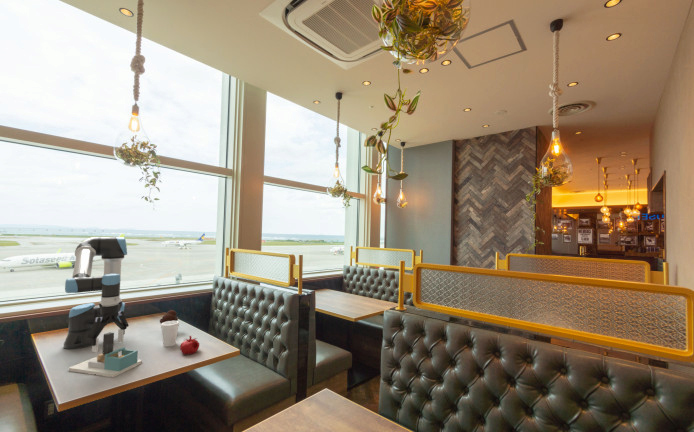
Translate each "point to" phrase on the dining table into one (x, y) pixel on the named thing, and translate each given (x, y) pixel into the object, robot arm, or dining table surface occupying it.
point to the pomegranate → (189, 346)
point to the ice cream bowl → (169, 317)
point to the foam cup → (169, 332)
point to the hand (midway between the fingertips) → (108, 346)
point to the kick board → (98, 368)
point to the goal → (120, 359)
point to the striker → (107, 347)
